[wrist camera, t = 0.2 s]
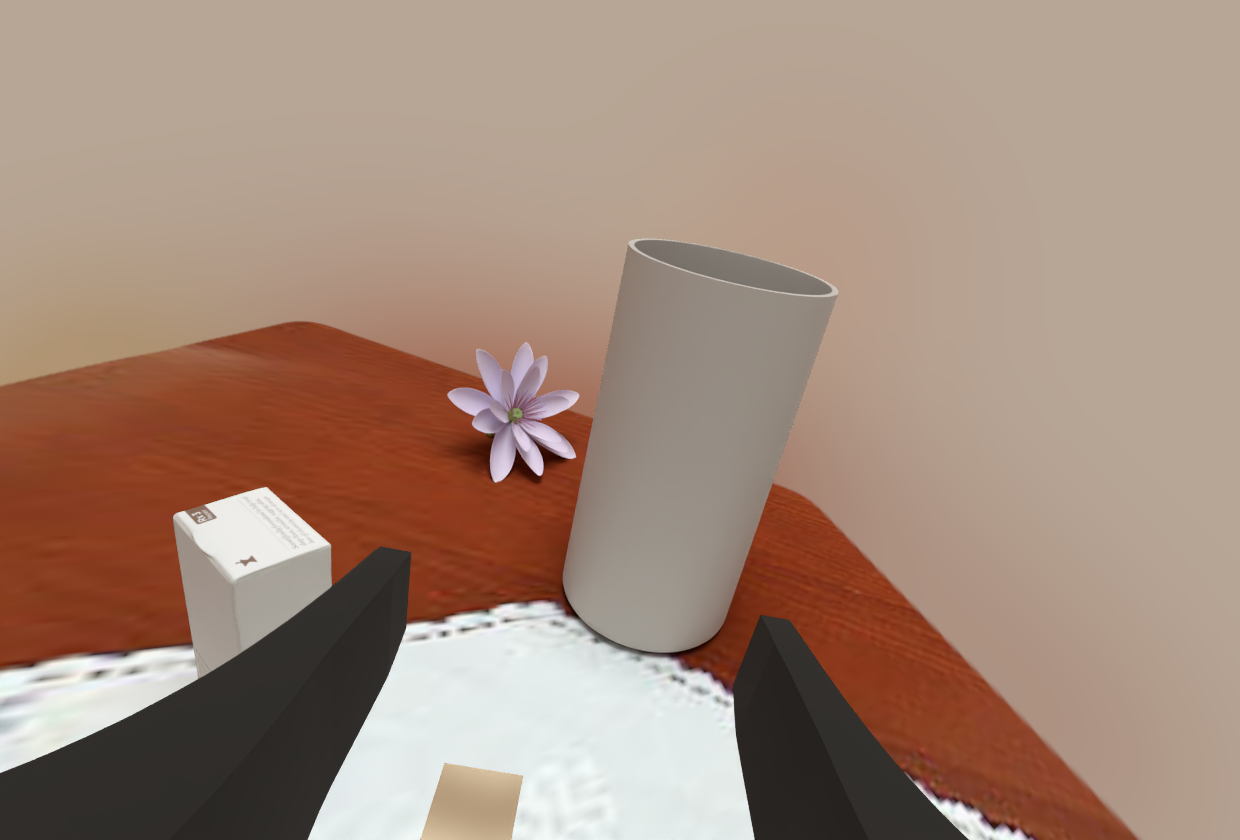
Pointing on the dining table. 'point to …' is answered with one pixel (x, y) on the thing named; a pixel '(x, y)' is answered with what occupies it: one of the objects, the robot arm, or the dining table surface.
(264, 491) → the skincare box
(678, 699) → the dining table surface
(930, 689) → the dining table surface
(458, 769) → the tan wooden block
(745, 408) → the cylinder vase
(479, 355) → the water lily
